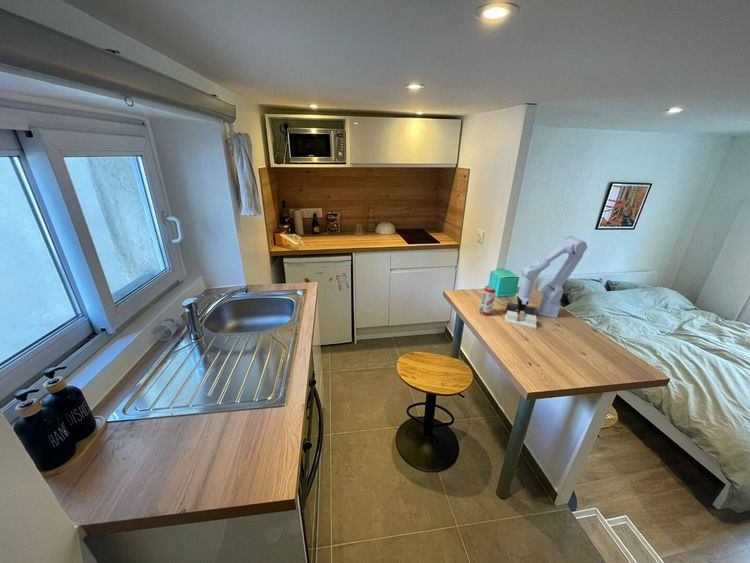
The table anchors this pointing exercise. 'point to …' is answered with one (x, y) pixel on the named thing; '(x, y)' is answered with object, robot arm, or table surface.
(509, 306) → the glasses bar
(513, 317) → the display stand
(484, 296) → the beer can
